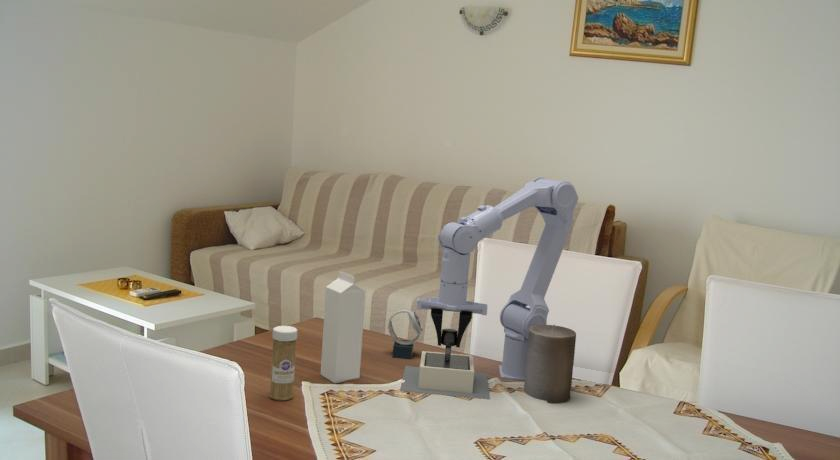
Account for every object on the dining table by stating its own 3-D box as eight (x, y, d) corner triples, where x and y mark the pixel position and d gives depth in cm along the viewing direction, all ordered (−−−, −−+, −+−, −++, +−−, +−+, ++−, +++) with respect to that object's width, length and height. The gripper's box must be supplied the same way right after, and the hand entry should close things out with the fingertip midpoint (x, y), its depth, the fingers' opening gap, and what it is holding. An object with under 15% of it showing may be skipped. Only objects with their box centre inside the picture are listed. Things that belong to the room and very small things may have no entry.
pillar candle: (576, 394, 154) (583, 324, 153) (560, 406, 146) (567, 333, 144) (533, 383, 159) (539, 315, 157) (515, 395, 151) (521, 324, 149)
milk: (334, 384, 149) (341, 277, 146) (320, 374, 154) (326, 271, 151) (360, 379, 153) (367, 275, 150) (345, 370, 157) (351, 269, 154)
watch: (419, 361, 168) (423, 314, 166) (384, 358, 168) (388, 311, 167) (421, 354, 173) (424, 309, 172) (387, 351, 174) (390, 305, 172)
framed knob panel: (471, 375, 160) (472, 355, 159) (472, 393, 149) (474, 371, 148) (420, 370, 160) (422, 350, 159) (418, 388, 149) (419, 366, 148)
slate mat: (486, 374, 162) (486, 373, 162) (490, 401, 146) (490, 399, 146) (405, 367, 163) (405, 365, 163) (399, 392, 147) (399, 390, 147)
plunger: (467, 359, 158) (470, 327, 157) (467, 372, 149) (470, 338, 148) (427, 355, 158) (429, 323, 157) (425, 368, 150) (428, 334, 149)
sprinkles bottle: (275, 402, 136) (279, 332, 135) (265, 394, 140) (268, 326, 138) (297, 399, 139) (302, 330, 137) (286, 391, 143) (290, 323, 141)
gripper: (418, 282, 148) (412, 347, 150) (490, 288, 147) (484, 353, 149) (419, 275, 155) (414, 338, 157) (488, 281, 154) (482, 344, 156)
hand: (448, 345), depth 153 cm, fingers closed on plunger, 3 cm apart
